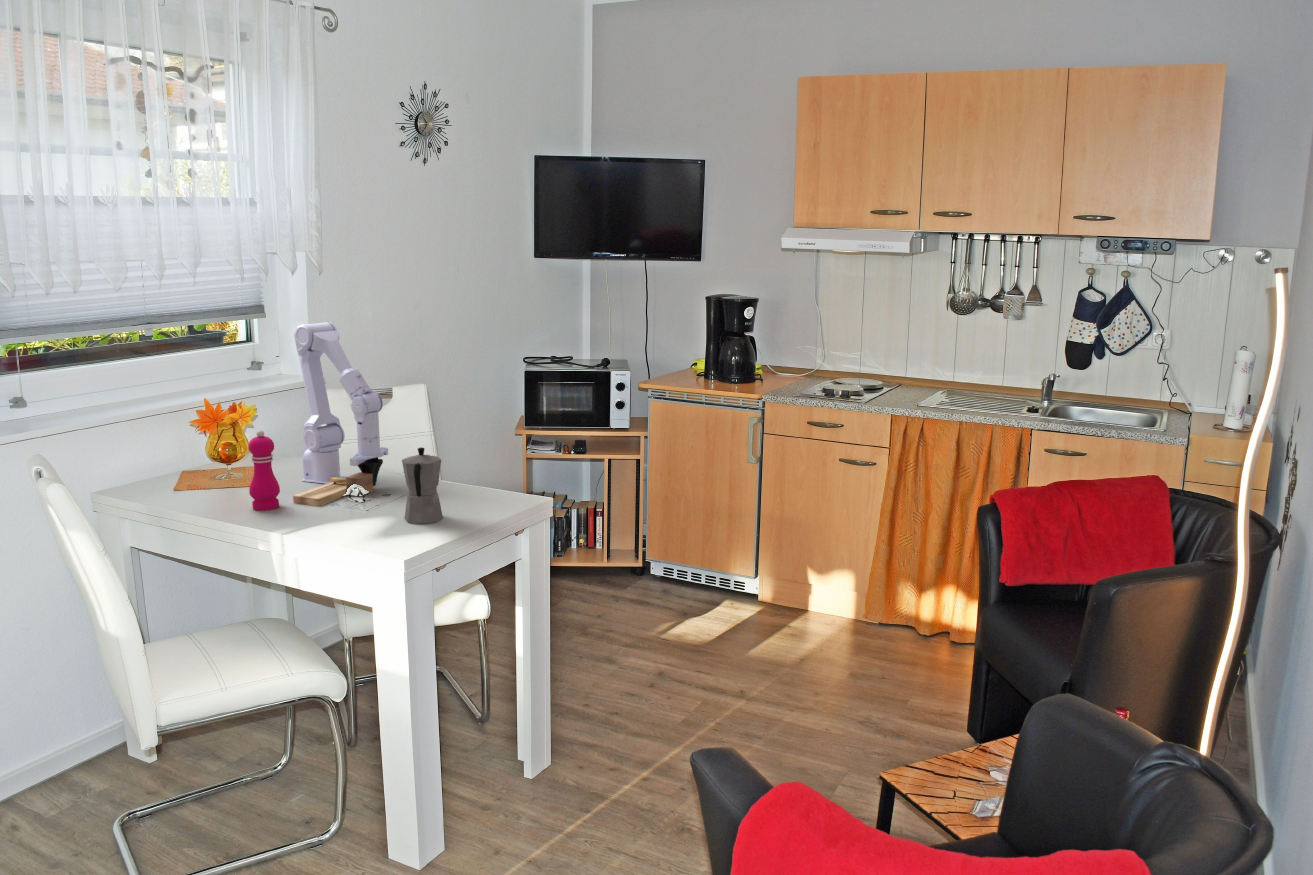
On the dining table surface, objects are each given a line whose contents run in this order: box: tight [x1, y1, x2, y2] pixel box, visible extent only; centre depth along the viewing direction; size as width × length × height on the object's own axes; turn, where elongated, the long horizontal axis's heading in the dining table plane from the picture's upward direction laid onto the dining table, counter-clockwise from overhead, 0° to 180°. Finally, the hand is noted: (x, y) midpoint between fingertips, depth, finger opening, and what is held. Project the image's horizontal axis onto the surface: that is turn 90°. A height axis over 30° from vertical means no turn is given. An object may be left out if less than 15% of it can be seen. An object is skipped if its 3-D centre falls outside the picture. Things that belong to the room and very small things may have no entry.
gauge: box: [330, 471, 374, 493], centre depth 262 cm, size 11×6×5 cm, turn 71°
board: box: [292, 477, 347, 507], centre depth 261 cm, size 8×21×2 cm, turn 161°
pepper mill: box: [248, 429, 281, 512], centre depth 246 cm, size 7×7×20 cm
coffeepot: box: [401, 447, 444, 525], centre depth 237 cm, size 15×9×18 cm, turn 6°
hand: (371, 485), depth 266 cm, fingers closed
